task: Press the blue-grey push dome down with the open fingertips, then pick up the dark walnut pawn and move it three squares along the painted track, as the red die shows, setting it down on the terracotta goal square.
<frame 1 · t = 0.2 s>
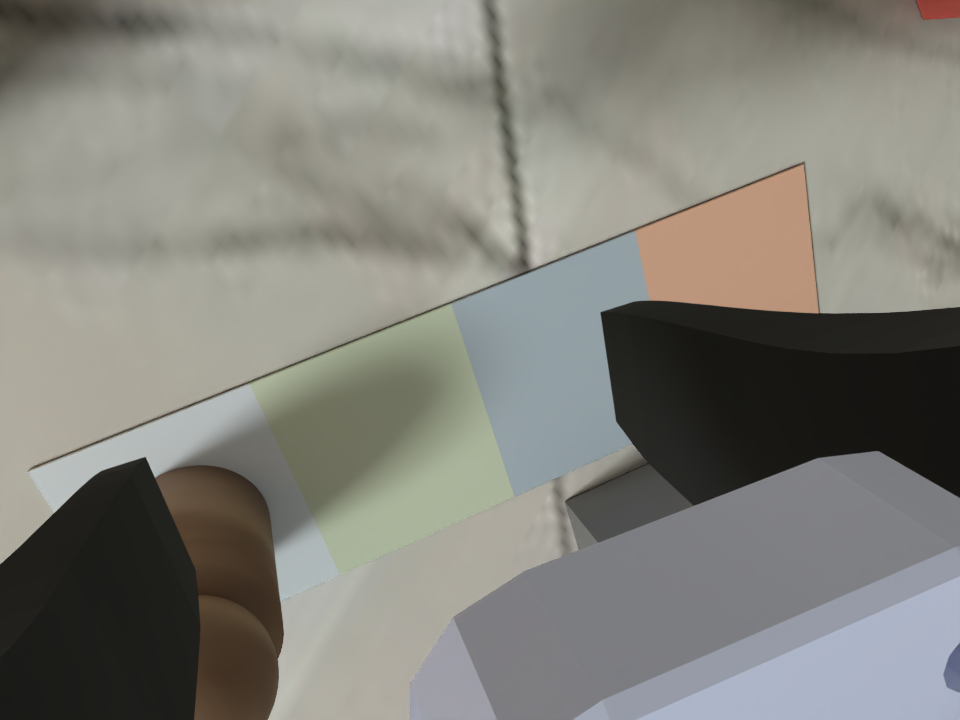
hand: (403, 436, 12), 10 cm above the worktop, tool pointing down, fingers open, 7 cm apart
walnut pawn: (198, 528, 22), resting on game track
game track: (483, 405, 24), on the worktop
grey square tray: (751, 564, 30), on the worktop
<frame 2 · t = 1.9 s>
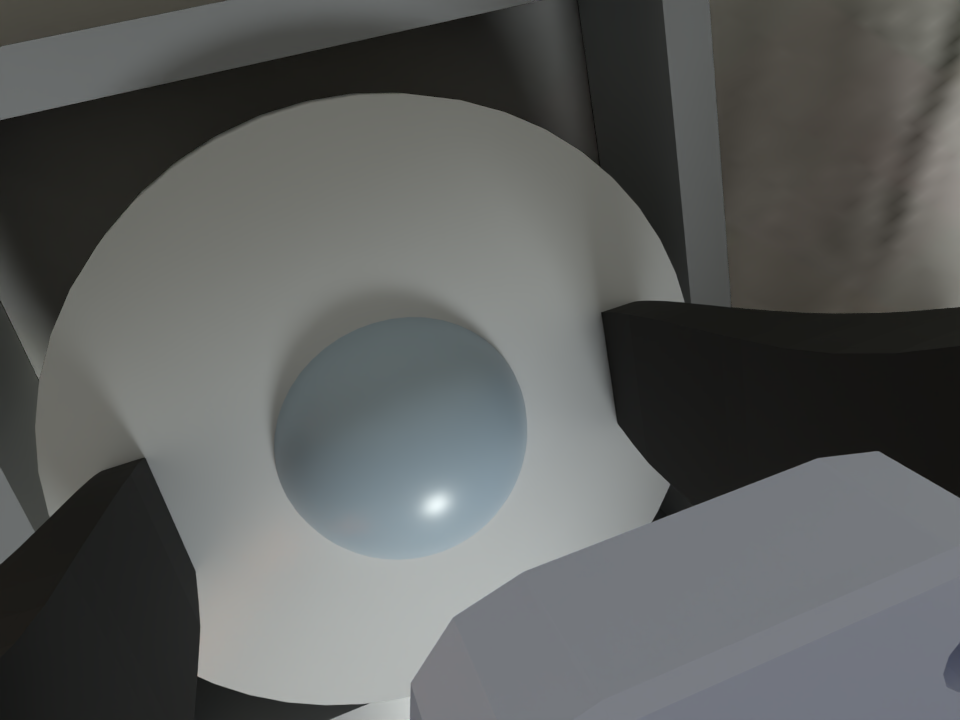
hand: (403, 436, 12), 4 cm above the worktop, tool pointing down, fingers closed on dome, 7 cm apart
dome: (400, 428, 12), point 4 cm above the worktop, slide at 0.1 cm, touching gripper
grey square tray: (363, 354, 15), on the worktop
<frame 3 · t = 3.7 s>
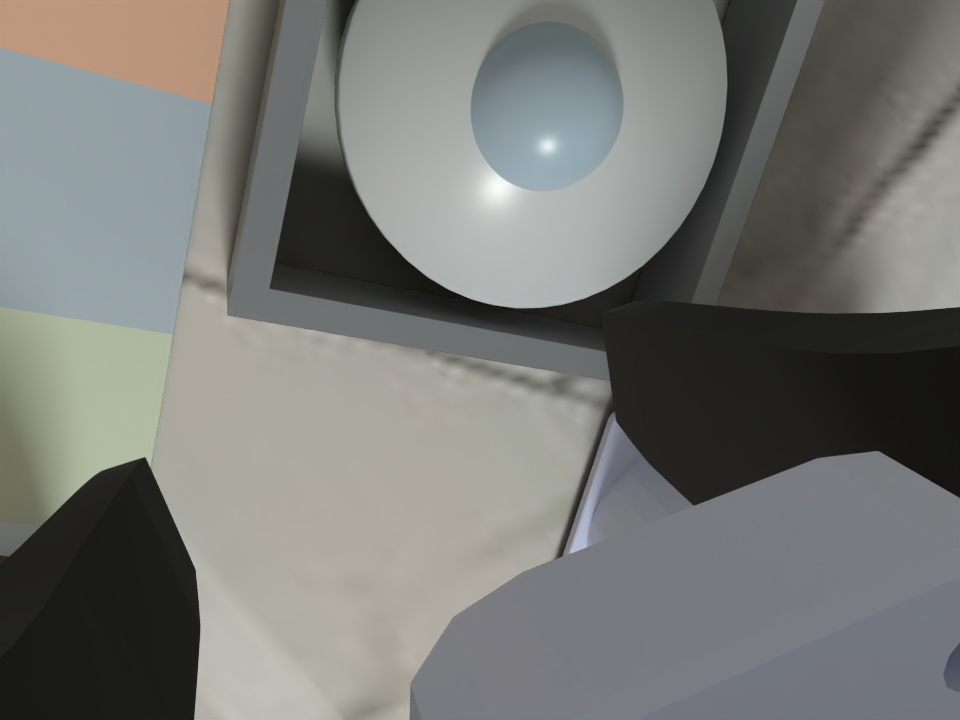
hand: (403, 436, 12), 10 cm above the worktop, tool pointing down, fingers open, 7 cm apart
dome: (541, 108, 19), point 2 cm above the worktop, slide at 1.3 cm
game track: (23, 309, 19), on the worktop
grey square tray: (510, 105, 21), on the worktop
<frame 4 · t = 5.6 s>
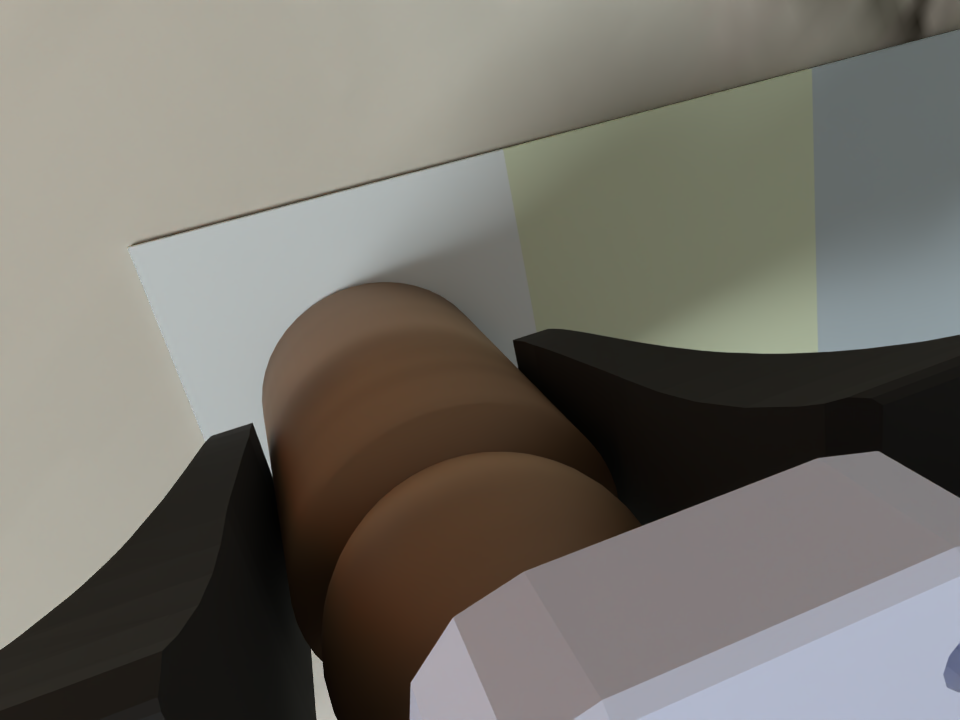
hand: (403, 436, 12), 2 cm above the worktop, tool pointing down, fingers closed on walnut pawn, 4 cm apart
walnut pawn: (381, 393, 13), resting on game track, touching gripper
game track: (812, 252, 15), on the worktop
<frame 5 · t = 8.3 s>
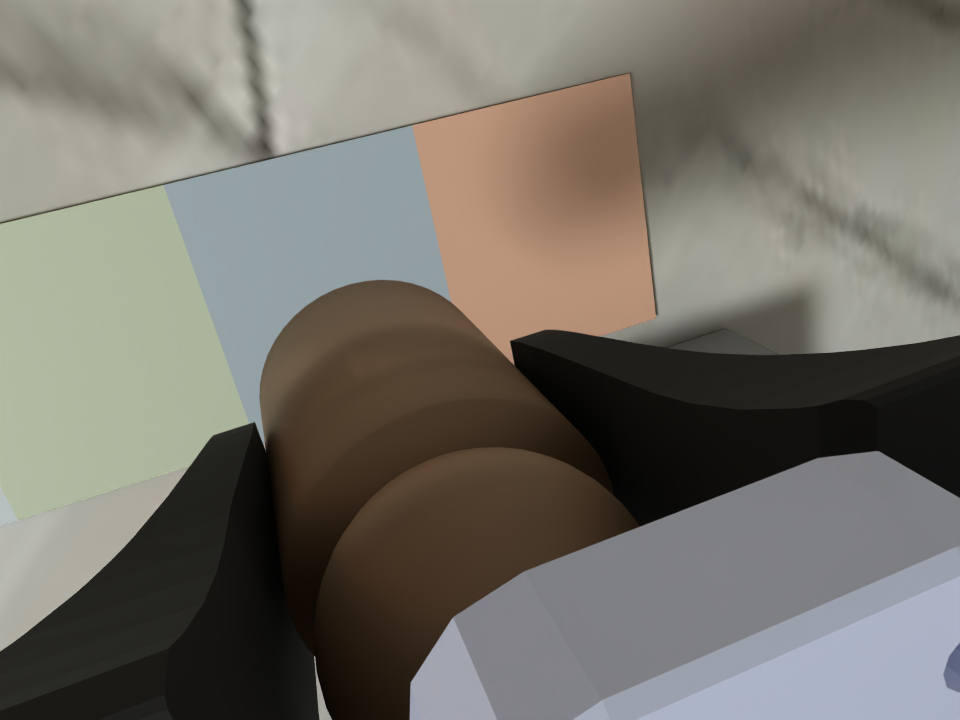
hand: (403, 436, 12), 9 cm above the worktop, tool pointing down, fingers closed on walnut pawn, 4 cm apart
walnut pawn: (378, 391, 13), point 7 cm above the worktop, touching gripper
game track: (213, 323, 19), on the worktop
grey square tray: (569, 561, 25), on the worktop
when the fingers open (3 cm above the worktop, at t = 10.5 s): walnut pawn drops 1 cm, resting on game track.
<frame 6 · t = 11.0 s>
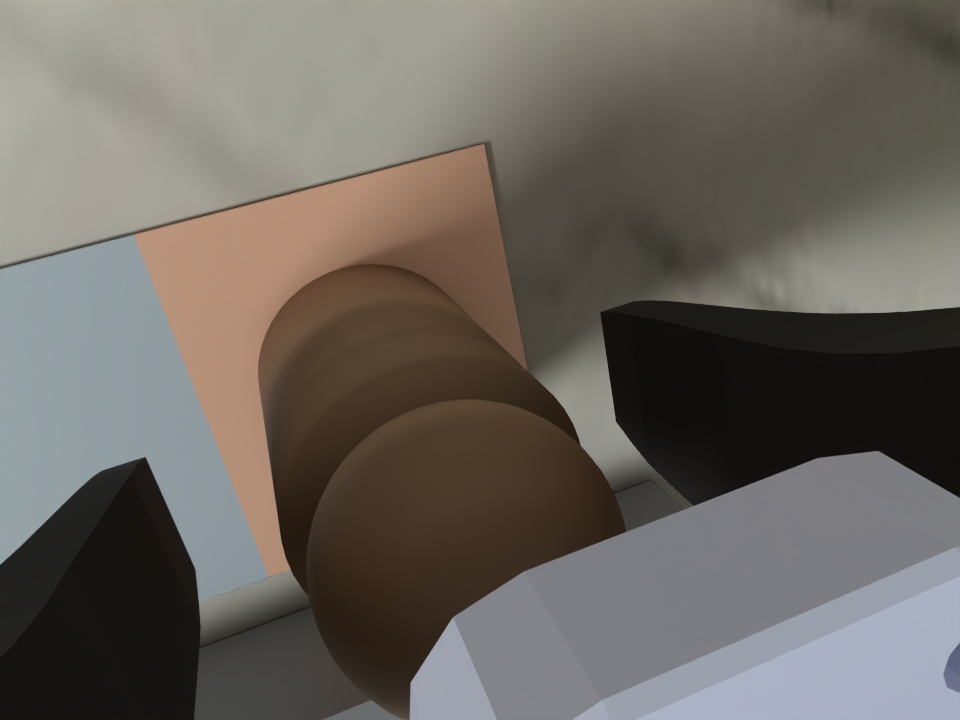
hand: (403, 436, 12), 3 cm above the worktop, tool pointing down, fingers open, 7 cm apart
walnut pawn: (369, 370, 14), resting on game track
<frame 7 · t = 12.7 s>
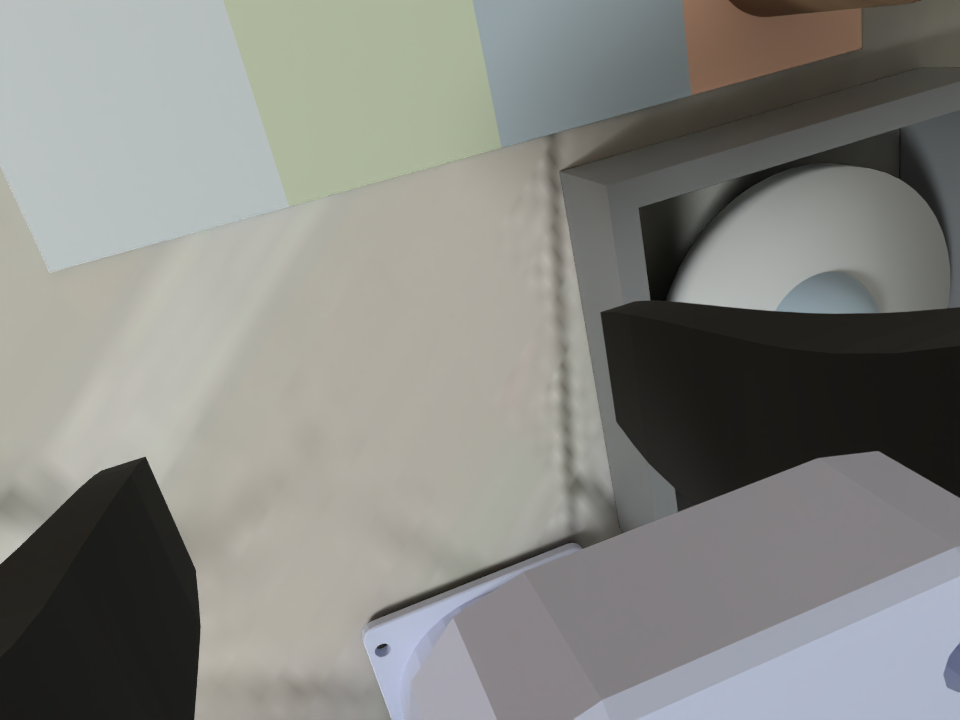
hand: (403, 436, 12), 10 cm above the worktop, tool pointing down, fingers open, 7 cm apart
dome: (809, 329, 24), point 2 cm above the worktop, slide at 1.3 cm
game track: (473, 12, 20), on the worktop
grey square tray: (763, 309, 26), on the worktop
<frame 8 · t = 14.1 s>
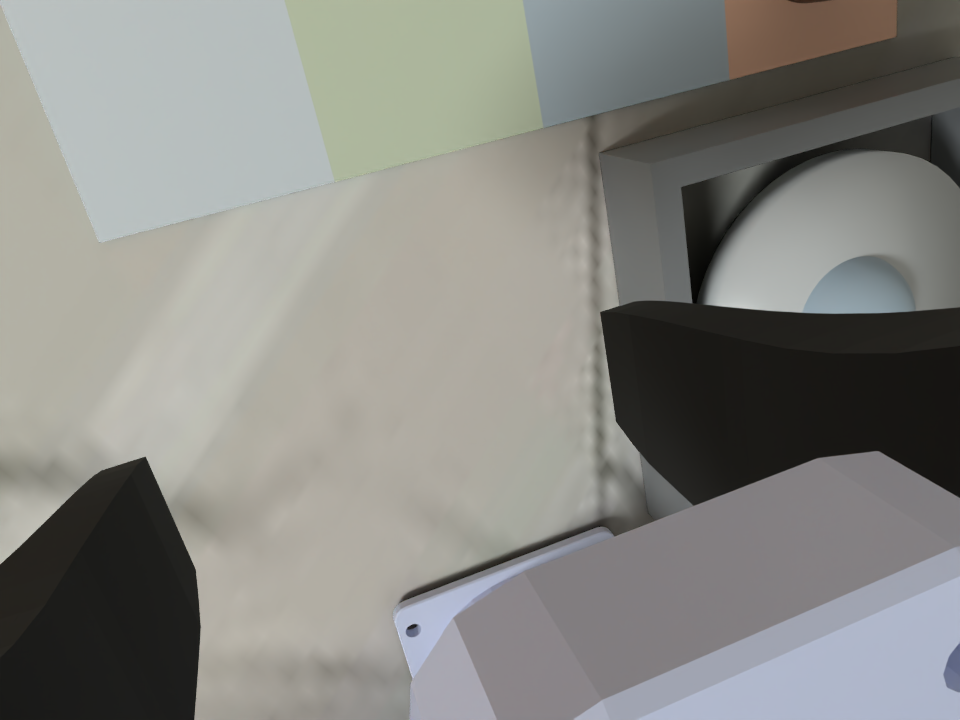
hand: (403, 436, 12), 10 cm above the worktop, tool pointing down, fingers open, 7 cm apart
dome: (842, 314, 24), point 2 cm above the worktop, slide at 1.3 cm
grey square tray: (793, 295, 26), on the worktop
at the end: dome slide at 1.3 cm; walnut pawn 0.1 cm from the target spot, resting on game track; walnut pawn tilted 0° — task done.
